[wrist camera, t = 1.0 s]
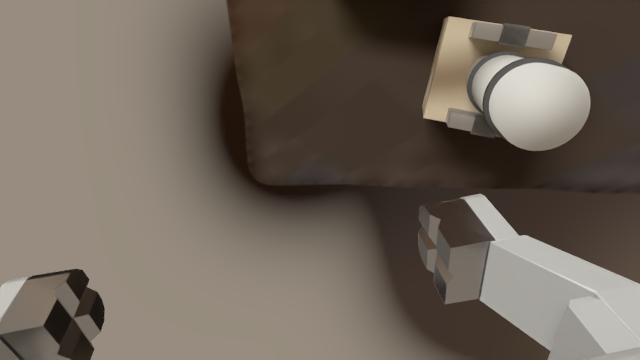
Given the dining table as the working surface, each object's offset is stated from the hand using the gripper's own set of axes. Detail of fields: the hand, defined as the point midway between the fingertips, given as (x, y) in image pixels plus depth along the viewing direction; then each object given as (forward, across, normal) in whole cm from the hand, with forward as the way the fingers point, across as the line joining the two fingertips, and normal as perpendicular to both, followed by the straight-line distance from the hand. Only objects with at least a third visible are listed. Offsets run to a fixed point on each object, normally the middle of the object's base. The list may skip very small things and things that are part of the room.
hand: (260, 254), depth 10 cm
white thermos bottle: (+24, -20, +7) cm, 32 cm away
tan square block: (+31, -22, +9) cm, 39 cm away
